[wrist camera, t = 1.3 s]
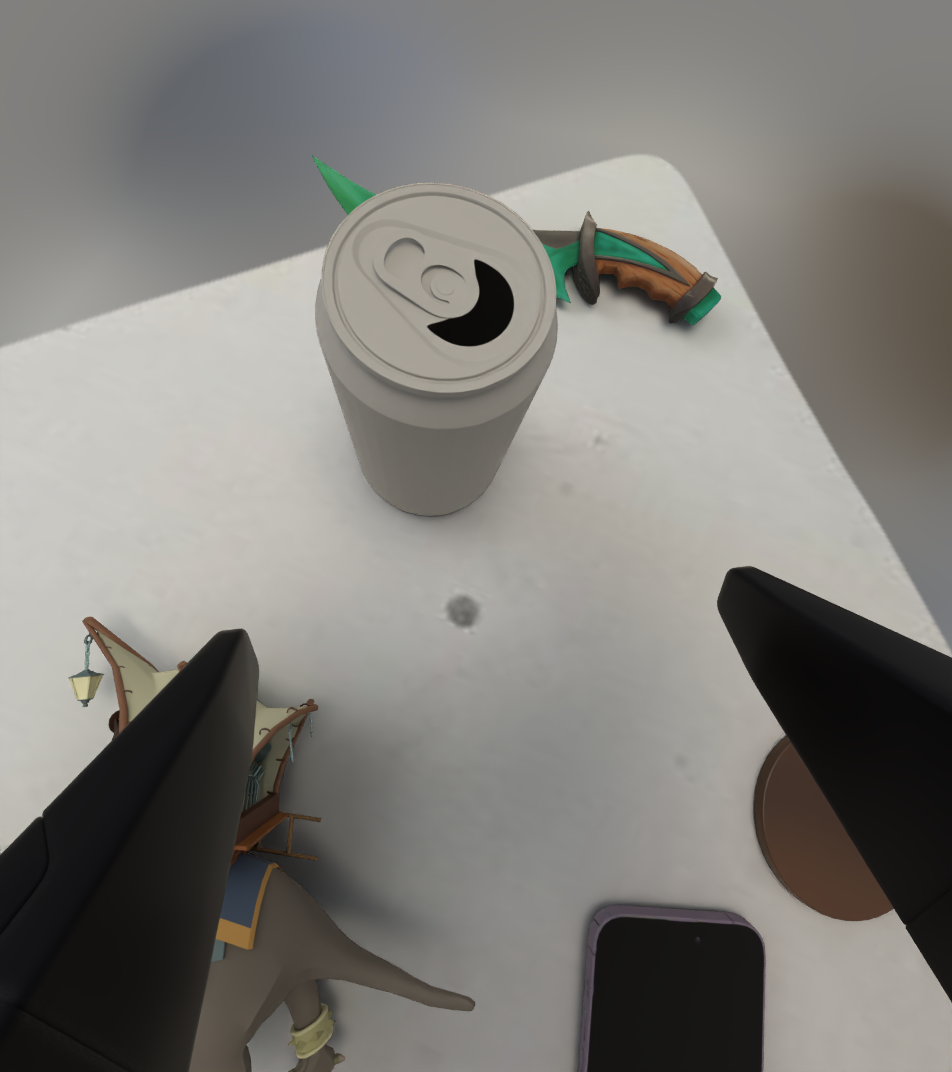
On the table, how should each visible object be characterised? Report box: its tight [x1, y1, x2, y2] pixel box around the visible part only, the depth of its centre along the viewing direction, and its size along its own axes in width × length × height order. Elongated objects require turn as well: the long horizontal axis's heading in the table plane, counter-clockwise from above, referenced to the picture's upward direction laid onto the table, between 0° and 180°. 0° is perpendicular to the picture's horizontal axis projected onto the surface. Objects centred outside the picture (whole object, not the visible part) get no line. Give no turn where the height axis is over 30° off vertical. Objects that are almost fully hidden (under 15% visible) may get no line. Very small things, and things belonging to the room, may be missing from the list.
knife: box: [312, 156, 721, 325], centre depth 26 cm, size 21×2×5 cm
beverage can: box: [315, 183, 558, 516], centre depth 18 cm, size 6×6×12 cm
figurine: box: [69, 617, 475, 1072], centre depth 17 cm, size 20×6×17 cm
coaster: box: [754, 736, 894, 921], centre depth 23 cm, size 8×8×1 cm
